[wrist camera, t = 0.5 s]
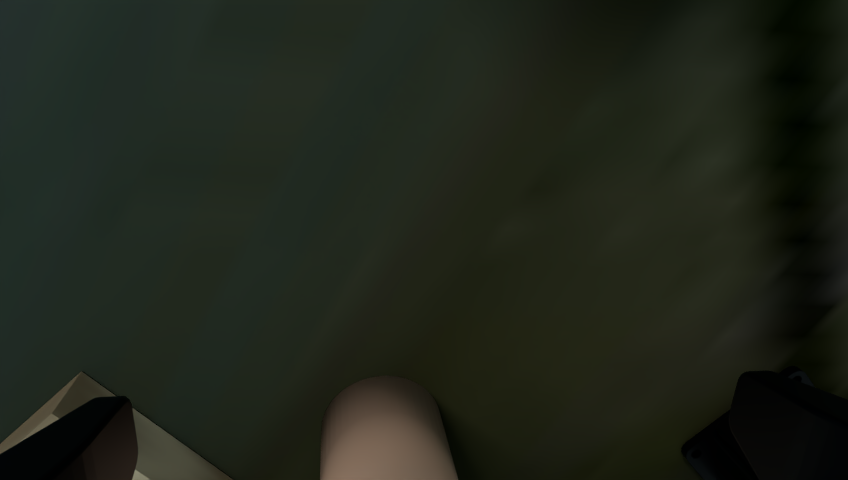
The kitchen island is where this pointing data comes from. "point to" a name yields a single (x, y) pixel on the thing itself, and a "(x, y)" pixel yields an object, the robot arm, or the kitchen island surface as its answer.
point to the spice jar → (384, 433)
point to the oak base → (157, 450)
